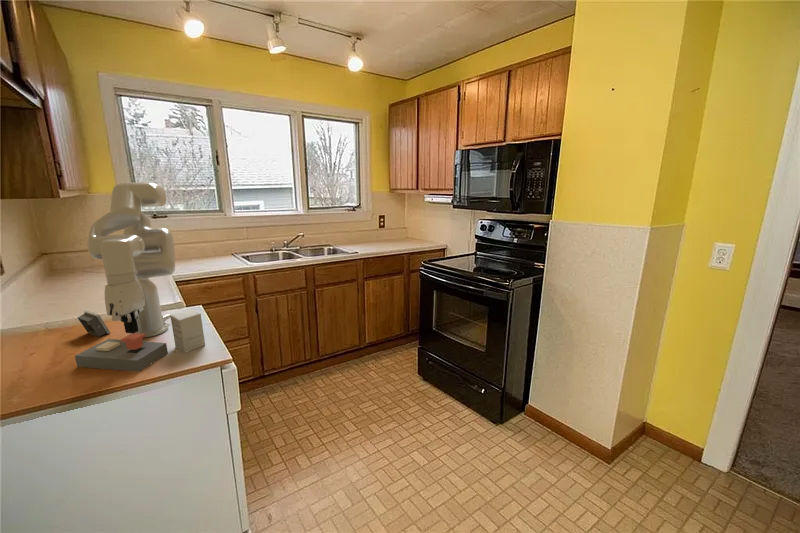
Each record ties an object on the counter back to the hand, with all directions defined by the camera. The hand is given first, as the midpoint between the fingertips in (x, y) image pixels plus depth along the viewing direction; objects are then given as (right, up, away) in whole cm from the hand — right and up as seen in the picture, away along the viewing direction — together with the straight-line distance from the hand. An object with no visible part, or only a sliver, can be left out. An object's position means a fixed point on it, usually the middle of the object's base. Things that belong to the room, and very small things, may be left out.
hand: (132, 332), depth 115 cm
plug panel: (-5, -10, +4) cm, 12 cm away
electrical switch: (-30, -5, +22) cm, 38 cm away
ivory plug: (-10, -9, +4) cm, 14 cm away
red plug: (0, -5, +2) cm, 6 cm away
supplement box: (+11, -8, +14) cm, 19 cm away
